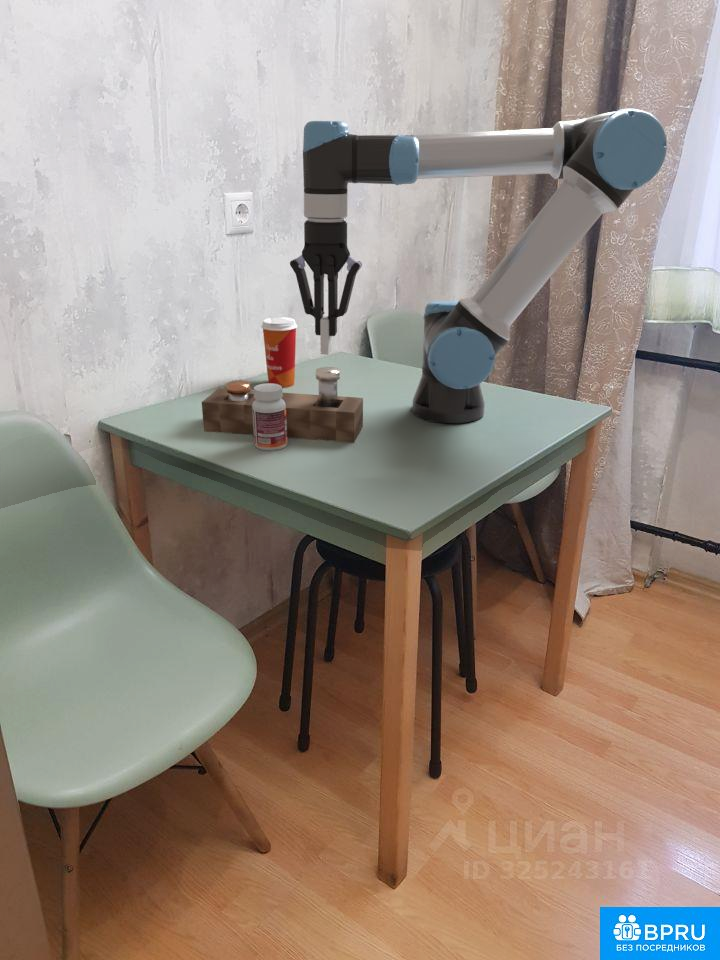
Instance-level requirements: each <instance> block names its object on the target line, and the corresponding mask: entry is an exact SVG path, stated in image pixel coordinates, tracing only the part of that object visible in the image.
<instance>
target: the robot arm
mask: <svg viewBox="0 0 720 960" xmlns="http://www.w3.org/2000/svg"><path fill="white" fill-rule="evenodd" d="M348 126H349V125H348V123H347V122H346V121H339V120H337V121H336V120H335V121H331V120H311V121H308V122H307V123H306V124H304V127H303V139H302V140H303V143H302V145H303V147H302V161H303V162H302V166H303V167H302V168H303V169H302V170H303V216H304V218H306V219H307V220H305V221H304V223H303V228H304V229H303V231H304V232H303V233H304V236H303V239H304V240H303V241H304V246H303V249H302V251H301V255H299V256H297V257H296V258H293V259H292V260H290V262H289V265H290V268H291V269H292V270H293V272H294V273H295V276H296V277H295V278H296V281H297V285H298V289H299V293H300V294H299V295H300V297H301V302H302V306H303V310H304V313H305V314H306V315H310V316H311V317H313V318H314V333H315V336H319V337H320V355H325V356H326V355H327V356H328V355H330V353H332V351H333V349H332V346H333V345H332V344H333V343H332V342H333V341H332V340H333V339H332V337H335V336H336V335H337V333H338V318H339V317H344V316H345V314H347V312H348V309H349V305H350V301H351V297H352V293H353V289H354V285H355V280H356V276H357V274H358V273H359V271H360V269H361V268H362V265H363V264H362V262H361V261H360V260H359V261H358V260H356V259H354V258H353V257H352V256H351V253H350V250H349V248H348V222H347V221H345V219H346V218H347V217H348V185H349V184H374V185H375V184H376V185H396V186H400V185H411V184H412V185H413V184H415V183H416V182H417V180H427V179H430V180H431V179H446V178H447V179H448V178H449V179H453V178H454V179H455V178H471V177H472V178H473V177H474V178H477V177H499V176H500V177H501V176H503V177H504V176H522V175H548V174H549V175H550V176H551V177H552V178H553V179H554V180H561V179H562V183H561V184H560V185H559V187H558V188H557V189H556V191H555V192H554V193H553V194H552V196H551V197H550V198H549V199H548V200H547V202H546V203H545V205H543V207H542V208H541V210H540V211H539V212H538V213H537V215H536V216H535V217H534V219H532V221H531V222H530V224H528V226H526V227H527V228H526V229H525V230H524V232H523V233H522V234H521V235H520V236H519V238H518V239H517V240H516V242H515V243H514V244H513V246H512V247H511V248H510V249H509V250H508V252H507V253H506V254H505V255H504V257H503V258H502V260H501V261H500V262H499V264H497V266H496V267H494V270H492V272H491V273H490V274H489V276H488V277H487V279H486V280H484V282H483V283H482V284H481V286H480V287H479V289H478V290H477V291H476V292H475V294H474V295H473V296H471V297H466V298H460V299H459V300H458V301H454V300H453V301H449V300H448V301H447V300H446V301H432V302H431V301H430V302H428V303H427V304H426V306H425V308H424V315H423V320H424V323H423V341H422V342H423V344H422V345H423V347H422V348H423V349H422V369H421V370H422V371H421V377H420V379H419V383H418V385H417V386H416V387H417V388H416V390H415V393H414V396H413V399H412V403H411V404H412V405H411V406H412V407H411V411H412V414H414V416H416V417H418V418H420V419H423V420H425V421H431V422H435V423H440V424H441V423H442V424H463V423H464V424H465V423H470V422H473V421H477V420H480V419H481V418H482V417H484V415H485V406H486V405H485V399H484V395H483V391H482V388H481V383H483V382H484V381H485V380H486V379H487V378H488V377H489V376H490V374H491V373H492V371H493V369H494V366H495V363H496V357H497V355H498V354H499V353H500V352H501V351H502V350H503V348H504V347H505V346H506V345H507V343H508V342H509V341H510V340H511V336H510V330H511V329H510V328H511V325H512V324H513V323H514V322H515V321H516V319H517V318H518V317H519V316H520V315H521V313H522V312H523V311H524V310H525V308H526V307H527V306H528V305H529V304H530V302H531V301H532V300H533V299H534V297H535V296H536V295H537V294H538V293H539V292H540V290H541V289H542V288H543V287H544V285H545V284H546V283H547V282H548V280H550V278H551V277H552V275H553V274H554V273H555V272H556V271H557V270H558V268H559V267H560V266H561V265H562V264H563V262H565V260H566V259H567V258H568V256H569V255H570V254H571V252H572V251H573V250H575V247H576V246H577V245H578V244H579V243H580V242H581V241H582V239H583V238H584V237H585V236H586V234H587V233H588V232H589V230H590V229H592V227H593V226H594V225H595V223H596V222H597V220H599V218H600V217H601V216H602V215H603V214H606V213H611V212H612V213H613V212H617V211H618V209H619V208H620V207H621V206H622V204H623V203H624V202H625V201H626V200H627V199H628V197H629V196H630V195H631V194H632V192H633V191H634V190H636V189H639V188H641V187H643V186H644V185H646V184H647V183H649V182H650V181H651V180H652V179H654V178H655V176H656V175H657V174H658V173H659V171H660V170H661V168H662V166H663V164H664V161H665V159H666V155H667V150H668V149H667V144H668V143H667V135H666V132H665V129H664V127H663V125H662V124H661V122H660V121H659V119H658V118H657V117H655V116H654V115H653V114H652V113H650V112H647V111H645V110H642V109H637V108H633V107H632V108H631V107H628V108H621V109H618V110H616V111H610V112H604V113H600V114H598V115H597V114H596V115H593V116H590V117H586V118H581V119H575V120H568V121H567V120H563V121H562V120H561V121H557V122H556V123H555V124H554V125H553V126H552V127H551V128H550V127H546V128H531V129H530V128H529V129H528V128H527V129H511V130H510V129H509V130H492V131H491V130H489V131H488V130H487V131H486V130H485V131H484V130H483V131H469V132H468V131H467V132H465V131H463V132H447V133H430V134H428V133H427V134H425V133H424V134H411V135H410V134H409V135H404V134H397V135H393V134H391V135H390V134H389V135H388V134H387V135H385V134H384V135H383V134H382V135H381V134H376V135H375V134H373V135H372V134H371V135H370V134H368V135H364V134H363V135H360V134H359V135H357V134H351V133H350V131H349V127H348ZM306 264H307V266H308V267H309V269H310V270H311V271H312V273H313V286H314V287H313V296H314V299H313V297H312V294H311V293H312V292H311V289H310V285H309V280H308V276H307V272H306V269H305V267H306ZM345 264H347V265H346V270H347V271H348V272H347V274H346V276H345V282H344V285H343V286H344V287H343V289H342V294H341V298H340V302H339V307H338V292H339V291H338V289H339V287H338V286H339V285H338V281H339V280H338V279H339V273H340V272H341V270H342V269H343V267H344V266H345ZM325 275H327V293H328V294H327V298H328V299H327V307H328V308H327V310H328V311H327V313H328V315H327V316H325V299H324V298H325V297H324V296H325V292H324V291H325V289H324V288H325V284H324V282H325Z"/></svg>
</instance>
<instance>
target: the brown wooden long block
mask: <svg viewBox="0 0 720 960" xmlns="http://www.w3.org/2000/svg"><path fill="white" fill-rule="evenodd" d="M282 393H283V397H282V398H281V399H283V400H284V401H285V403H286V419H287V439H288V438H290V439H300V440H301V439H302V440H315V441H329V442H342V443H351V444H352V443H355V442H356V440H357V438H358V437H359V435H360V433H361V430H362V429H363V427H364V397H354V396H341V395H338V406H337V407H335V408H331V407H319V394H312V393H311V394H310V393H309V394H308V393H297V392H296V393H295V392H294V393H293V392H282ZM255 400H256V399H255V398H254V390H251V391H250V392H249V393H248V401H247V402H244V401H230V394H229V393H227V388H219V387H218V388H217V389H216V390H214V391H213V392H212V393H210V394H209V395H208V396H207V397H206V398H205V399H203V400H202V401H201V411H202V413H201V414H202V422H203V431H204V432H211V433H222V434H223V433H224V434H236V435H248V436H249V435H251V436H254V429H253V413H252V404H253V402H254V401H255Z"/></svg>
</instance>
